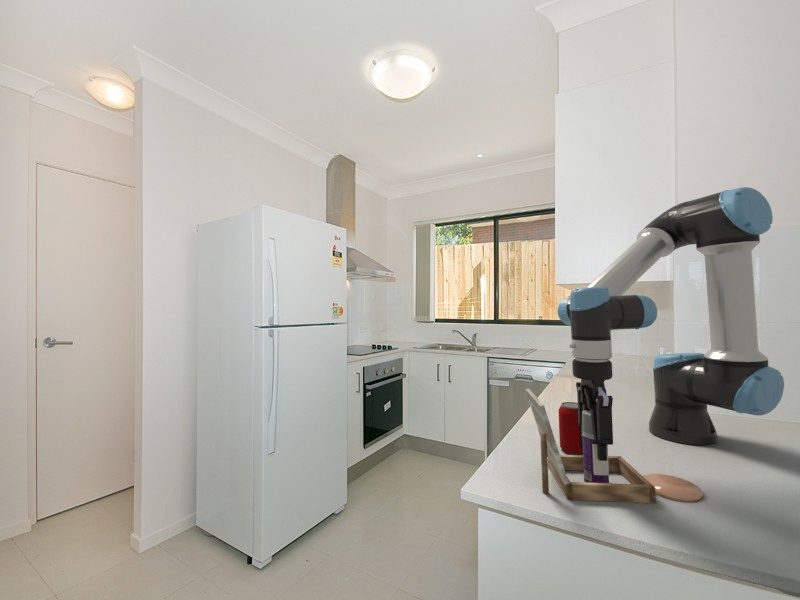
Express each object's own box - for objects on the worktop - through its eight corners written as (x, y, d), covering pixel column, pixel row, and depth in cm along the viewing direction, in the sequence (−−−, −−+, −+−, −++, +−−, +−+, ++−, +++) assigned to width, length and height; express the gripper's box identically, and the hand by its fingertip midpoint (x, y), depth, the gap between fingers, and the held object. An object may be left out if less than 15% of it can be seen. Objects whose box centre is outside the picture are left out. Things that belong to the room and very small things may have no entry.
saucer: (682, 477, 78) (682, 474, 78) (716, 502, 68) (715, 499, 68) (632, 475, 79) (632, 473, 79) (658, 500, 69) (658, 497, 69)
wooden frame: (621, 469, 82) (617, 388, 82) (655, 503, 68) (651, 405, 69) (528, 466, 85) (525, 388, 85) (543, 498, 71) (540, 405, 71)
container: (608, 491, 73) (605, 417, 73) (583, 485, 76) (580, 414, 76) (609, 481, 77) (606, 411, 77) (585, 476, 80) (582, 408, 80)
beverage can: (592, 457, 89) (590, 408, 89) (563, 455, 90) (561, 408, 91) (584, 446, 96) (582, 401, 96) (557, 445, 97) (555, 400, 97)
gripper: (560, 353, 86) (564, 451, 86) (588, 366, 69) (593, 489, 68) (593, 353, 85) (597, 451, 85) (631, 366, 67) (636, 490, 67)
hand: (595, 468), depth 76 cm, fingers closed on container, 5 cm apart
